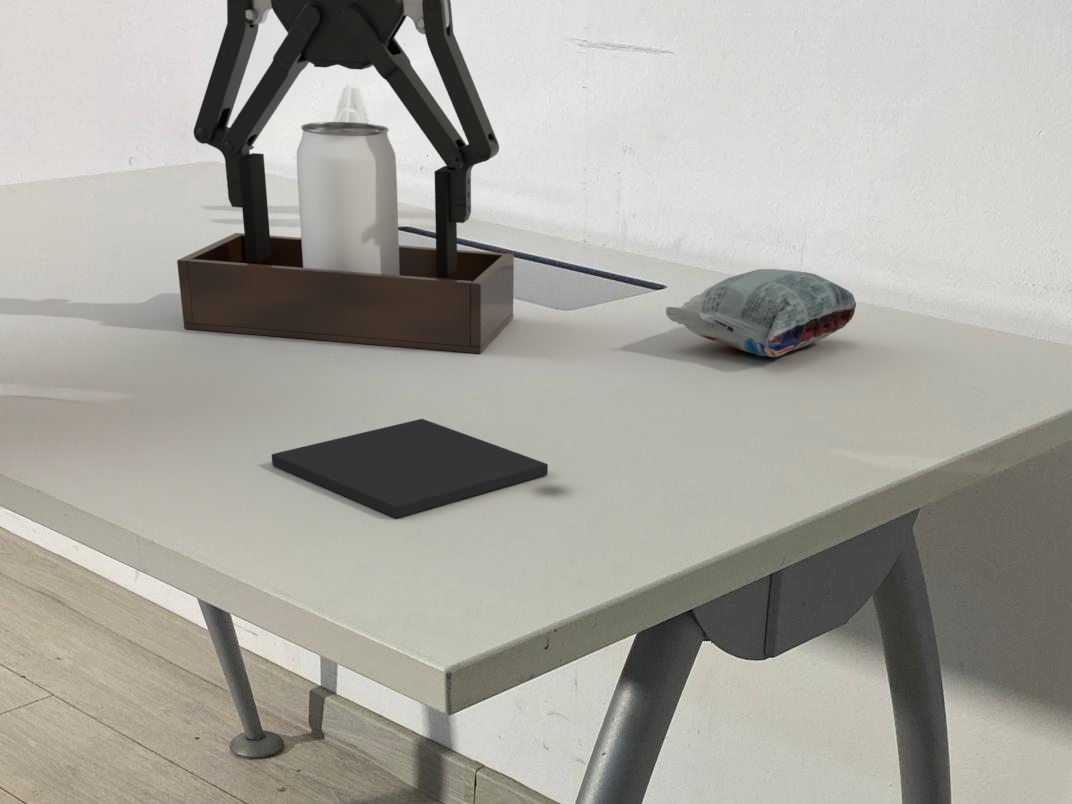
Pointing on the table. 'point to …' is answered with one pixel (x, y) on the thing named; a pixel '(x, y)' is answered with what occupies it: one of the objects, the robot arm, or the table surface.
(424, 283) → the brown wooden box
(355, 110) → the white ridged upright piece
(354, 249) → the can
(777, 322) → the packaged food
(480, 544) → the table surface
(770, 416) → the table surface
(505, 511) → the table surface
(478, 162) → the robot arm
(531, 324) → the table surface
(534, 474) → the mat
